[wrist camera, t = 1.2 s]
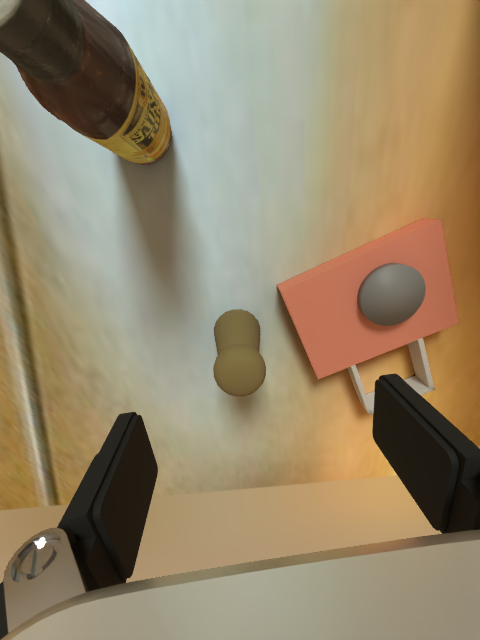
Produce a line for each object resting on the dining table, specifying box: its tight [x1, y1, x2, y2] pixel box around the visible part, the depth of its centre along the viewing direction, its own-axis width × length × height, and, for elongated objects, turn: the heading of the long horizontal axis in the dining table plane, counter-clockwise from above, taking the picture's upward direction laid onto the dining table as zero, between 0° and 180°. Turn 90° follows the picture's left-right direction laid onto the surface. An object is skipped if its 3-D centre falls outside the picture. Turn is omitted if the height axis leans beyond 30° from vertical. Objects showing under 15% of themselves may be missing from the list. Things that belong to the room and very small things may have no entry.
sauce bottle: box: [0, 0, 171, 165], centre depth 18 cm, size 6×6×20 cm
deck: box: [277, 218, 459, 414], centre depth 35 cm, size 18×22×4 cm
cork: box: [213, 310, 266, 396], centre depth 31 cm, size 6×6×11 cm
